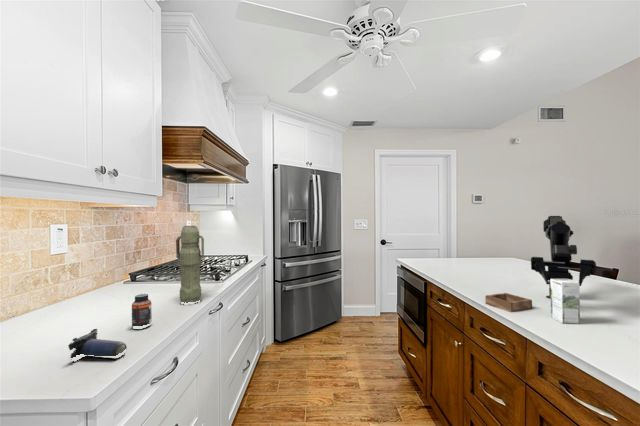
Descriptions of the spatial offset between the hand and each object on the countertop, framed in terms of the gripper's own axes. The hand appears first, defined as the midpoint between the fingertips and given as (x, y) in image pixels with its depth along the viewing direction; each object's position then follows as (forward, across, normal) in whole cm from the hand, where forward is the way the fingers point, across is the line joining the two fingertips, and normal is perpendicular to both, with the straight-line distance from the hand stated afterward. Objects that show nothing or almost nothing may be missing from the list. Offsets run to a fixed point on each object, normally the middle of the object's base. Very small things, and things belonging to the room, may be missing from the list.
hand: (563, 283), depth 104 cm
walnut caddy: (+6, -17, +11) cm, 21 cm away
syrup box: (+12, 0, +5) cm, 13 cm away
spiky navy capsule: (+87, -105, -68) cm, 153 cm away
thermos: (+58, -134, -39) cm, 151 cm away
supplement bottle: (+76, -120, -57) cm, 153 cm away
